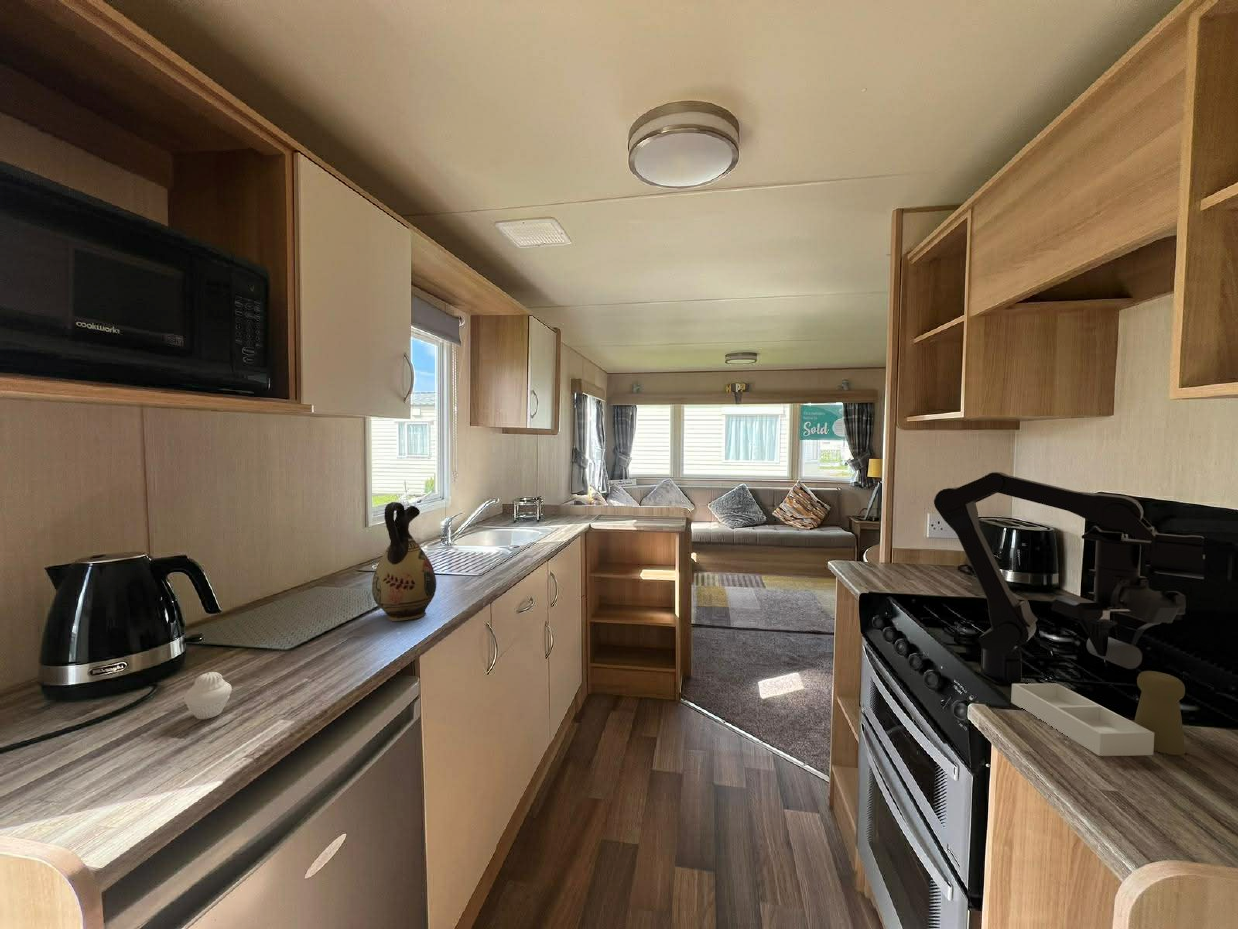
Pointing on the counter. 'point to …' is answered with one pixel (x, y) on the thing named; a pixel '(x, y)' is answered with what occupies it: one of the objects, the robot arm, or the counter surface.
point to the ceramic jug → (403, 569)
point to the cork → (1161, 710)
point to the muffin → (208, 695)
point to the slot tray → (1083, 720)
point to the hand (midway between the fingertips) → (1113, 655)
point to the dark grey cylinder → (1119, 653)
